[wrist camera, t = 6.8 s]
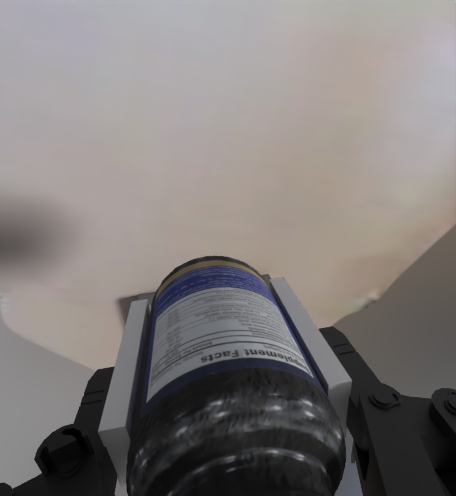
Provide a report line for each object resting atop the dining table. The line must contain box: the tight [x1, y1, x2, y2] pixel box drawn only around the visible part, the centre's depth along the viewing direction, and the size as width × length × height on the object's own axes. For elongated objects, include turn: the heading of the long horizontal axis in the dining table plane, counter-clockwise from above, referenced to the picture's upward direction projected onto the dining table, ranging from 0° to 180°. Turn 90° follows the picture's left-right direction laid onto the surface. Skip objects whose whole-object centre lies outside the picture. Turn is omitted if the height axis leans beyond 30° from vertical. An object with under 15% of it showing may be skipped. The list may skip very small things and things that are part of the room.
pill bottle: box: [126, 256, 346, 496], centre depth 10 cm, size 6×6×11 cm
